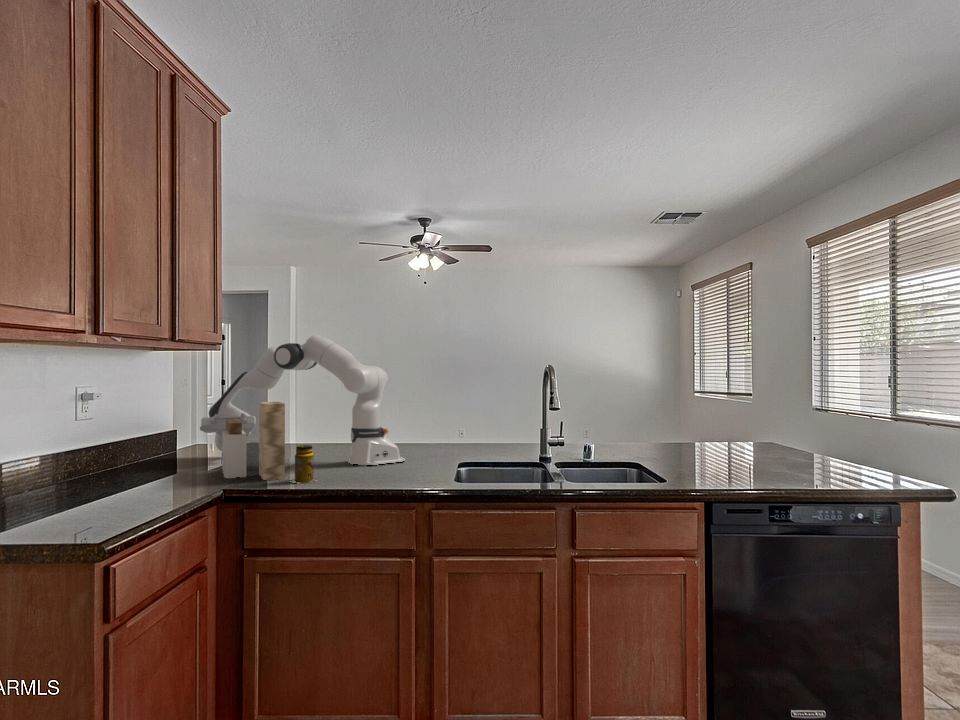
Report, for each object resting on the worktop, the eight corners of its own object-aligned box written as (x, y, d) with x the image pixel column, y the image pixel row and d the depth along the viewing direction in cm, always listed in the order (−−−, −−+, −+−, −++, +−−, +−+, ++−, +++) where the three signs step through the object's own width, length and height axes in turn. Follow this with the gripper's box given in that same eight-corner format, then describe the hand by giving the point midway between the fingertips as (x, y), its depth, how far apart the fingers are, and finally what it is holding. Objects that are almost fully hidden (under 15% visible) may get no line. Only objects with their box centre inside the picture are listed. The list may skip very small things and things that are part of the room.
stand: (279, 472, 218) (279, 401, 219) (284, 479, 207) (284, 403, 207) (259, 474, 215) (259, 402, 215) (263, 480, 204) (263, 404, 204)
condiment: (318, 481, 203) (318, 445, 203) (294, 484, 197) (295, 448, 197) (307, 478, 208) (308, 443, 208) (284, 481, 202) (284, 446, 202)
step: (242, 470, 224) (242, 430, 224) (246, 476, 211) (246, 434, 211) (222, 471, 221) (222, 431, 221) (224, 478, 207) (224, 435, 208)
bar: (237, 429, 229) (237, 418, 229) (241, 434, 211) (241, 422, 211) (225, 429, 227) (225, 418, 227) (229, 435, 209) (229, 423, 209)
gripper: (199, 423, 241) (200, 408, 230) (253, 421, 250) (257, 407, 240) (199, 438, 238) (200, 423, 228) (254, 435, 247) (257, 421, 237)
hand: (230, 415), depth 234 cm, fingers open, 8 cm apart
